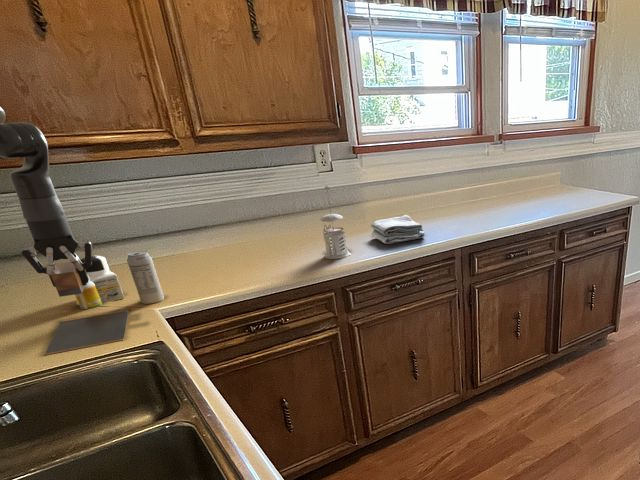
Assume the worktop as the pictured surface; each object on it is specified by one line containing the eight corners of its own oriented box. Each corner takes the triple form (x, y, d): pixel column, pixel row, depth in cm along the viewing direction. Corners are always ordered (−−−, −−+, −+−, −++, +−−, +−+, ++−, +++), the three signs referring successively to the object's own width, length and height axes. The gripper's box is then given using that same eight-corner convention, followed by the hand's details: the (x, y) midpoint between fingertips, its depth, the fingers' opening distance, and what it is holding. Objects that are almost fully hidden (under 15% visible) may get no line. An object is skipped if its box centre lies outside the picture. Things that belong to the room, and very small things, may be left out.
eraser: (59, 296, 123) (50, 274, 121) (65, 284, 132) (57, 263, 129) (82, 293, 125) (73, 271, 123) (87, 281, 134) (79, 260, 131)
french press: (354, 251, 198) (345, 183, 187) (342, 260, 188) (331, 189, 177) (330, 251, 200) (320, 183, 188) (317, 259, 190) (305, 189, 178)
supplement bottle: (77, 311, 148) (63, 280, 144) (87, 304, 153) (74, 273, 148) (97, 310, 149) (84, 278, 144) (106, 303, 153) (94, 272, 149)
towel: (371, 238, 216) (368, 219, 213) (410, 232, 225) (409, 213, 221) (385, 246, 205) (383, 226, 201) (426, 238, 213) (425, 219, 210)
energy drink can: (168, 298, 156) (152, 249, 149) (160, 305, 151) (144, 255, 144) (147, 300, 155) (130, 251, 149) (138, 307, 150) (120, 256, 143)
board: (45, 358, 121) (43, 355, 121) (61, 324, 140) (59, 321, 140) (124, 343, 128) (123, 339, 127) (129, 312, 147) (128, 309, 146)
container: (96, 305, 152) (79, 262, 146) (88, 300, 157) (71, 258, 151) (125, 298, 157) (110, 256, 151) (116, 293, 162) (102, 252, 156)
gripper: (84, 210, 127) (107, 277, 134) (10, 217, 120) (39, 287, 128) (80, 215, 121) (105, 285, 128) (2, 223, 115) (34, 295, 122)
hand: (72, 285), depth 128 cm, fingers closed on eraser, 4 cm apart
